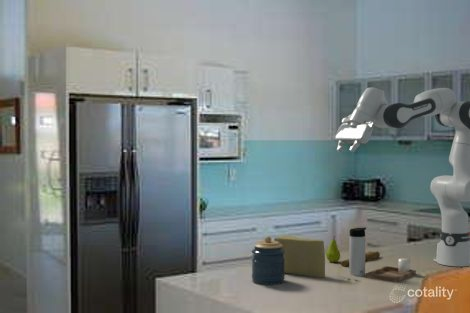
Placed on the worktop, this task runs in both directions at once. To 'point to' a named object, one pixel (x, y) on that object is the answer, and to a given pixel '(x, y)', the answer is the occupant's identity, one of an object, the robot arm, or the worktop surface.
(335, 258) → the fruit
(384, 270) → the tray
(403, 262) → the white egg
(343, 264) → the tap handle
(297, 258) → the cheese
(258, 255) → the canister
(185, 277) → the worktop surface
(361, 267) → the travel mug
